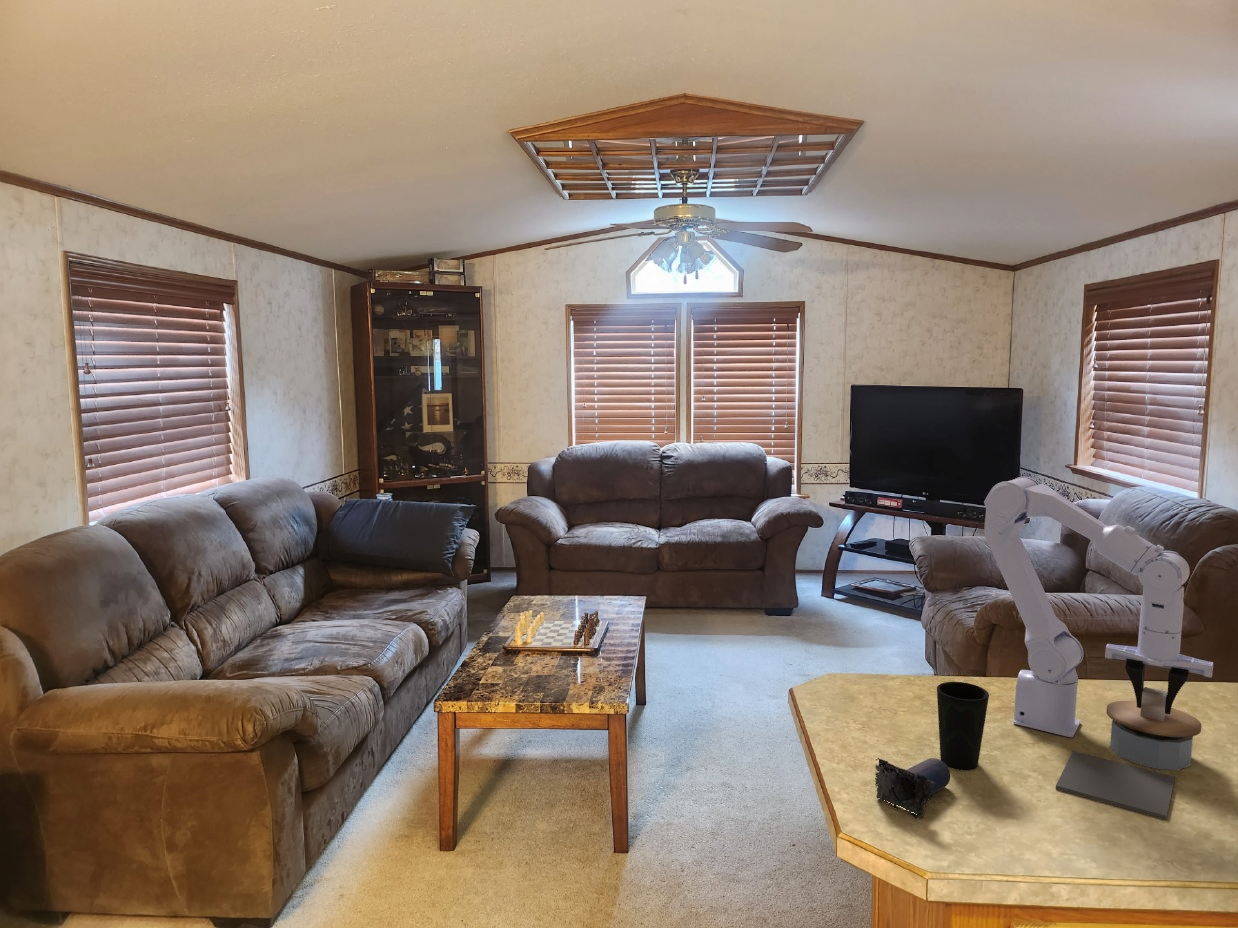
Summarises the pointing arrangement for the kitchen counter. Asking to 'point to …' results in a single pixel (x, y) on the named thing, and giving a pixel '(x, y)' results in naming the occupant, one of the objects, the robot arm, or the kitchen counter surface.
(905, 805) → the dark blue flanged cylinder
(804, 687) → the kitchen counter surface
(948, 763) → the cup
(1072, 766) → the mat
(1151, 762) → the bowl
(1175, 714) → the lid
